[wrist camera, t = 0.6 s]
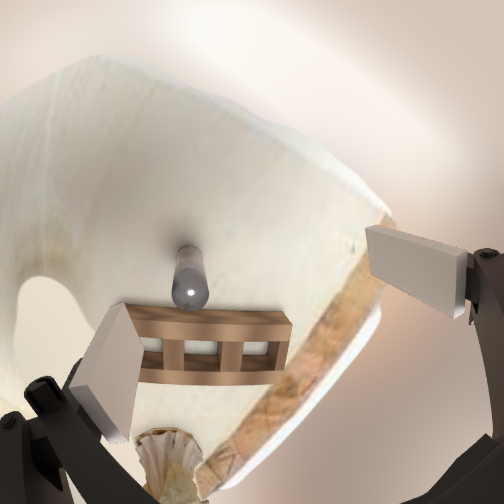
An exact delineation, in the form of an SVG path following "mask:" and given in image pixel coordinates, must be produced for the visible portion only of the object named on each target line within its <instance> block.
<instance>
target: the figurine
mask: <svg viewBox="0 0 504 504" xmlns="http://www.w3.org/2000/svg"><path fill="white" fill-rule="evenodd" d="M173 433H175V434H174V435H173ZM160 434H161V435H160ZM175 435H176V436H175ZM173 437H175V438H176V439H175V438H173ZM135 438H136V440H137V441H138V443H139V445H140V446H138V447H137V448H136V451H137V452H138V453H139V455H140V457H141V459H140V460H139V462H140V463H141V464H142V466H143V468H144V470H145V473H146V481H147V483H146V484H145V485H144V486H143V488H144V489H145V490H146V491H147V492H148V493H149V494H150V495H151V496H153V497H154V498H155V499H156V500H157V501H158V502H159V503H160V504H209V501H208V500H205V501H202V502H201V501H200V499H199V498H198V496H197V487H196V484H195V483H194V482H193V481H192V479H193V477H194V468H195V467H196V466H197V465H198V464H199V463H200V462H203V458H202V456H201V454H202V452H201V450H200V449H199V447H198V445H197V442H196V441H195V440H194V438H193V436H192V435H190V434H188V433H185V432H183V431H181V430H179V429H177V428H153V429H151V430H149V431H147V432H145V433H143V434H141V435H139V436H137V437H135ZM157 439H158V441H157ZM173 439H174V440H173ZM187 440H188V441H187ZM173 441H176V442H174V444H173ZM186 444H187V445H186ZM174 445H175V446H174ZM184 445H185V446H184ZM173 446H174V448H173ZM171 448H172V449H171Z"/></svg>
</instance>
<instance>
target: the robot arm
mask: <svg viewBox="0 0 504 504" xmlns="http://www.w3.org/2000/svg"><path fill="white" fill-rule="evenodd" d="M365 231H366V238H367V246H368V254H369V262H370V272H371V275H373V276H375V277H377V278H379V279H381V280H383V281H384V282H386V283H388V284H390V285H392V286H394V287H396V288H398V289H400V290H401V291H403V292H405V293H407V294H409V295H410V296H412V297H415V298H416V299H418V300H420V301H422V302H423V303H425V304H427V305H429V306H431V307H432V308H434V309H436V310H438V311H440V312H441V313H443V314H445V315H447V316H448V317H450V318H452V319H455V318H456V317H458V316H459V315H460V314H462V313H463V312H464V308H465V299H467V300H469V301H471V308H470V317H469V325H471V322H472V321H473V320H474V325H475V328H476V331H477V335H478V339H479V343H480V348H481V352H482V357H483V361H484V366H485V371H486V377H487V382H488V388H489V396H490V403H491V411H492V421H493V435H492V438H491V437H490V436H488V435H487V434H484V435H483V436H482V437H481V438H480V439H479V440H478V441H477V442H476V443H475V444H473V446H471V447H470V448H469V449H468V450H467V451H465V452H464V453H463V454H462V455H461V456H460V457H458V458H457V459H456V460H455V461H454V463H453V464H452V465H451V467H449V469H448V470H447V471H446V472H445V473H444V475H443V476H442V477H441V478H440V479H439V480H438V482H436V484H435V485H434V486H433V487H432V488H431V489H430V490H429V491H428V492H427V493H425V494H424V495H422V496H420V497H417V498H414V499H412V500H409V501H406V502H403V503H401V504H504V254H500V253H499V252H498V251H497V250H494V249H490V248H484V249H479V250H477V251H475V252H474V254H470V253H467V251H466V250H463V249H460V248H457V247H453V246H450V245H446V244H443V243H440V242H436V241H433V240H430V239H426V238H423V237H419V236H415V235H412V234H408V233H405V232H401V231H398V230H394V229H390V228H386V227H382V226H379V225H374V226H371V227H368V228H365ZM143 353H144V347H143V345H142V342H141V340H140V338H139V336H138V334H137V332H136V329H135V327H134V325H133V323H132V320H131V318H130V316H129V314H128V311H127V309H126V306H125V304H124V302H123V303H120V304H116V305H113V306H110V308H109V310H108V312H107V313H106V315H105V317H104V319H103V321H102V322H101V324H100V326H99V328H98V330H97V332H96V334H95V335H94V337H93V339H92V341H91V343H90V345H89V347H88V349H87V351H86V353H85V355H84V357H83V358H80V359H79V361H78V362H77V363H76V364H75V365H74V366H73V368H72V370H71V372H70V374H69V376H68V378H67V380H66V382H65V384H64V386H63V388H62V390H61V389H60V388H59V386H58V385H57V383H56V381H55V380H54V378H52V377H51V376H44V377H40V378H38V379H36V380H34V381H33V382H32V383H30V384H29V386H28V387H27V388H26V389H25V391H24V397H25V399H26V400H27V402H28V403H29V404H30V406H31V407H32V409H33V410H34V411H35V413H36V414H37V415H38V417H36V418H33V419H30V420H27V421H26V419H25V418H24V417H23V415H22V414H21V413H20V412H18V411H13V412H10V413H8V414H5V415H4V417H2V418H1V420H0V504H74V502H73V498H72V494H71V491H70V488H69V484H68V480H67V476H66V472H67V474H68V475H69V477H70V479H71V480H72V482H73V484H74V485H75V487H76V488H77V490H78V491H79V493H80V494H81V496H82V497H83V499H84V500H85V502H86V503H87V504H160V503H159V502H158V501H157V500H156V499H155V498H154V497H153V496H151V495H150V494H149V493H148V492H147V491H146V490H145V489H144V488H143V487H142V486H141V485H140V484H139V483H137V481H135V480H134V479H133V478H132V477H131V476H130V475H129V473H128V472H126V470H124V468H122V466H121V465H120V464H119V463H118V462H117V461H116V460H115V459H114V458H113V456H112V455H111V454H110V453H109V452H108V451H107V450H106V449H105V447H104V446H103V445H102V444H101V443H100V440H101V435H103V436H104V437H105V438H106V440H107V441H108V442H109V443H110V444H118V443H127V442H129V435H130V427H131V420H132V414H133V407H134V401H135V395H136V390H137V384H138V378H139V373H140V368H141V363H142V358H143ZM65 470H66V472H65Z"/></svg>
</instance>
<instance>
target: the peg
mask: <svg viewBox="0 0 504 504" xmlns="http://www.w3.org/2000/svg"><path fill="white" fill-rule="evenodd" d="M208 297H209V291H208V286H207V280H206V275H205V269H204V264H203V258H202V254H201V252H200V250H199V249H198V248H196V247H194V246H185V247H183V248H182V249H181V250H180V251H179V253H178V255H177V261H176V267H175V273H174V280H173V286H172V299H173V301H174V303H175V304H176V306H177V307H179V308H180V309H182V310H184V311H196V310H199V309H201V308H202V307H203V306H204V305H205V304H206V302H207V300H208Z"/></svg>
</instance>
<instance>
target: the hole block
mask: <svg viewBox="0 0 504 504" xmlns="http://www.w3.org/2000/svg"><path fill="white" fill-rule="evenodd" d="M125 306H126V309H127V311H128V314H129V316H130V318H131V320H132V323H133V325H134V327H135V329H136V332H137V334H138V336H139V337H147V338H160V339H163V353H157V352H144V353H143V358H142V363H141V368H140V373H139V378H138V382H146V383H159V384H176V385H208V386H233V385H265V384H281V381H282V376H283V372H284V367H285V362H286V357H287V352H288V347H289V341H290V336H291V331H292V323H291V322H290V321H289V319H288V318H287V317H286V315H285V314H284V313H283V312H259V311H224V310H201V309H199V310H196V311H184V310H182V309H180V308H166V307H152V306H139V305H127V304H125ZM184 340H197V341H218V349H217V355H194V354H184ZM266 341H269V346H268V352H267V355H242V353H243V345H244V342H266Z"/></svg>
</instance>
